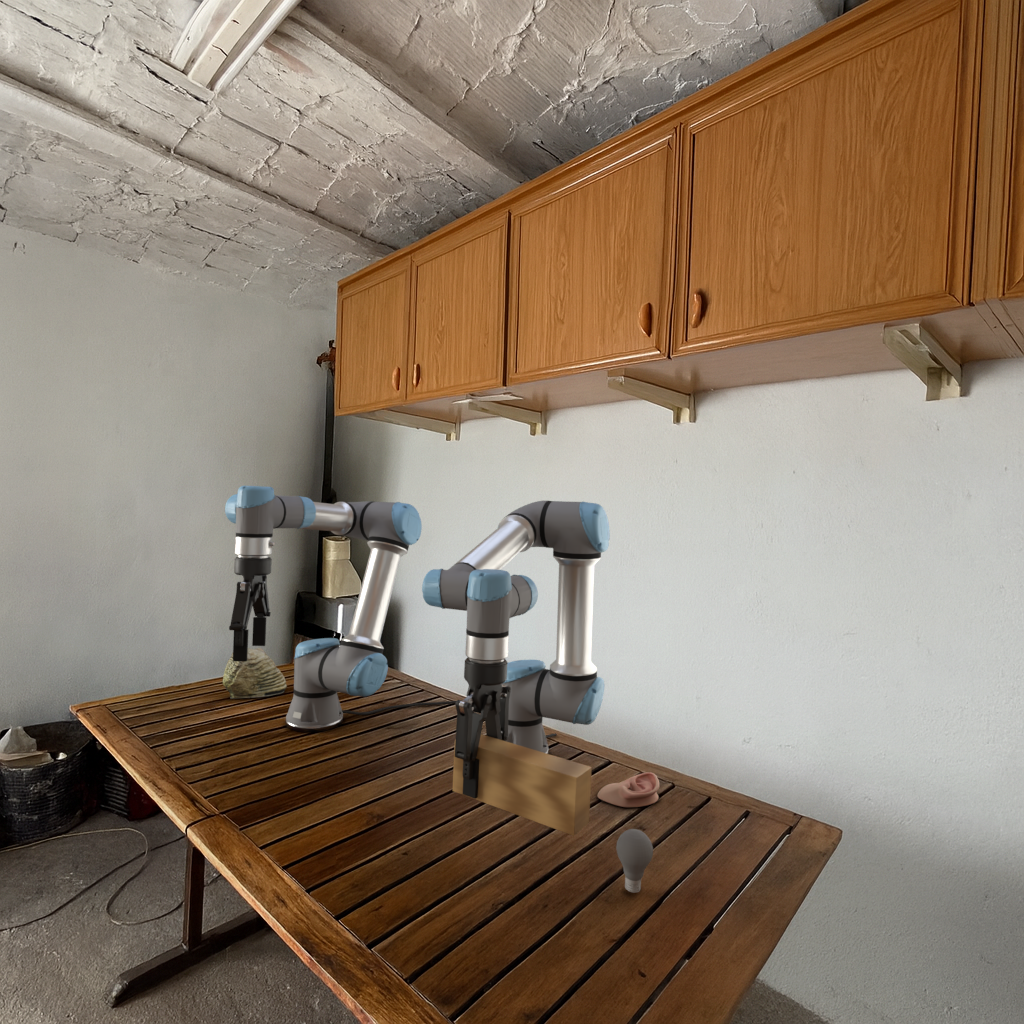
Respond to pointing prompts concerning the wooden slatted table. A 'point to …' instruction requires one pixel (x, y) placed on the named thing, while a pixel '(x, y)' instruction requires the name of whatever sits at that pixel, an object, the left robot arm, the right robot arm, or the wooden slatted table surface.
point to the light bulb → (634, 857)
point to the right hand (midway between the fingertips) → (480, 789)
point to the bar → (531, 784)
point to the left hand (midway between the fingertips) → (249, 653)
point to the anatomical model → (632, 791)
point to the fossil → (253, 676)
